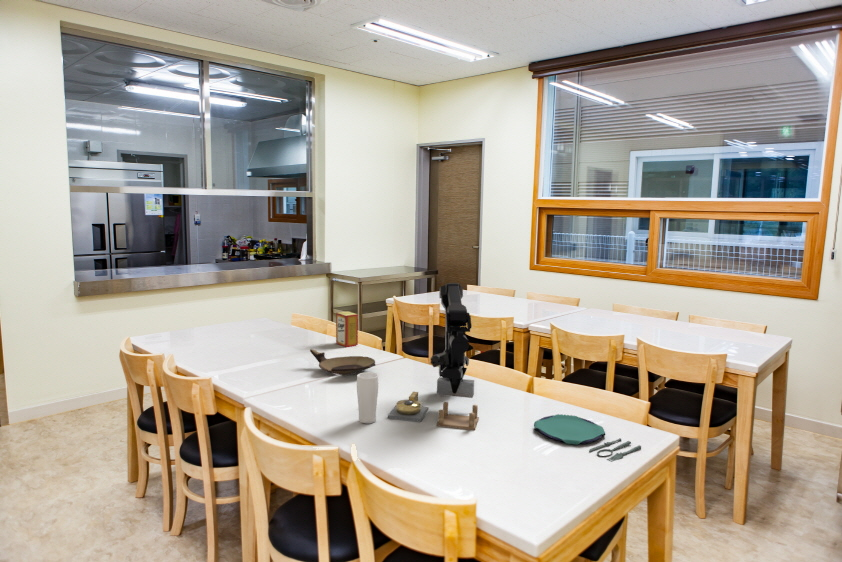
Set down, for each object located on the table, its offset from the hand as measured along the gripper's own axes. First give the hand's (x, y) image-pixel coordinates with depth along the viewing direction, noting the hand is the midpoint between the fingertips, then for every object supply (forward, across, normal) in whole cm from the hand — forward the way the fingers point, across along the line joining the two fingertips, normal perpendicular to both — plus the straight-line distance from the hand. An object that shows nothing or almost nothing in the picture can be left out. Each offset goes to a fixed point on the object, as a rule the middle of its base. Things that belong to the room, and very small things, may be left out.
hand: (455, 391), depth 187 cm
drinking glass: (+6, +18, -25) cm, 31 cm away
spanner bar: (+1, 0, 0) cm, 1 cm away
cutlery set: (+7, +13, +41) cm, 43 cm away
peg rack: (+6, +11, +3) cm, 13 cm away
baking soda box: (+6, -74, -67) cm, 100 cm away
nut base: (+6, +8, -14) cm, 18 cm away
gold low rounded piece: (+5, +6, -14) cm, 16 cm away
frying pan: (+7, -31, -52) cm, 61 cm away
